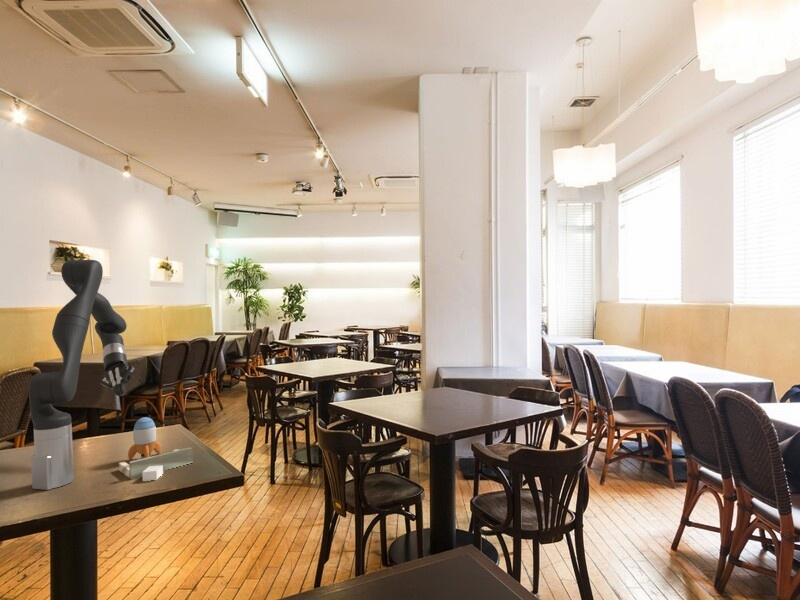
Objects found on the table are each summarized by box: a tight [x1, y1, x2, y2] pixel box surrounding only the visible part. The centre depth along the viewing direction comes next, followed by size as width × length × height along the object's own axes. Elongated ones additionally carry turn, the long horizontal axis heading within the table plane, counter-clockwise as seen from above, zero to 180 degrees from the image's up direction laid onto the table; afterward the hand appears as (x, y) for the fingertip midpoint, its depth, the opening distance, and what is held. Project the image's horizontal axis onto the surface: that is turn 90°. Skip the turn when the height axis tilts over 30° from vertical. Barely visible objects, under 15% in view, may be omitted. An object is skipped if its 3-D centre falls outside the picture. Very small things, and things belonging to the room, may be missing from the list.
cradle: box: [118, 446, 194, 480], centre depth 156 cm, size 13×18×5 cm
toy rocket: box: [127, 416, 162, 461], centre depth 165 cm, size 10×11×15 cm
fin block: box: [142, 465, 164, 482], centre depth 146 cm, size 5×4×3 cm
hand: (119, 394), depth 171 cm, fingers closed
